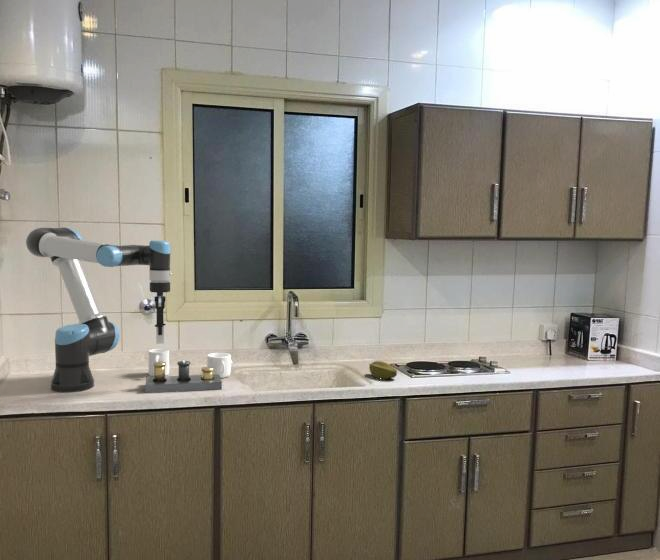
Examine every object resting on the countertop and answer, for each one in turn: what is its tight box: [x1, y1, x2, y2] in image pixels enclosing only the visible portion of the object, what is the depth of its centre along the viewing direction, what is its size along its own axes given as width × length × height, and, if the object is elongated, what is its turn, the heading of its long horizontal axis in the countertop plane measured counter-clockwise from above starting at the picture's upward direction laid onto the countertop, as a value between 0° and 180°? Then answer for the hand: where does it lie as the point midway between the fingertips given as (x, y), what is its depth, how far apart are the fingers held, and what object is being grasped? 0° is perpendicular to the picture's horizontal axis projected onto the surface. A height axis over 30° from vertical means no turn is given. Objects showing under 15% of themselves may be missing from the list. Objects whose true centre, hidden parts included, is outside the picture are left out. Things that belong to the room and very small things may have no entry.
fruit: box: [368, 360, 397, 380], centre depth 254 cm, size 11×12×7 cm
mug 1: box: [148, 348, 170, 377], centre depth 247 cm, size 12×8×10 cm
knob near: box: [153, 362, 166, 382], centre depth 228 cm, size 5×5×7 cm
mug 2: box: [206, 352, 234, 379], centre depth 248 cm, size 12×10×9 cm
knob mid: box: [177, 359, 191, 381], centre depth 231 cm, size 5×5×7 cm
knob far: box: [201, 366, 214, 380], centre depth 233 cm, size 5×5×7 cm
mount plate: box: [144, 374, 223, 394], centre depth 231 cm, size 28×12×3 cm, turn 105°
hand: (160, 343), depth 227 cm, fingers closed
